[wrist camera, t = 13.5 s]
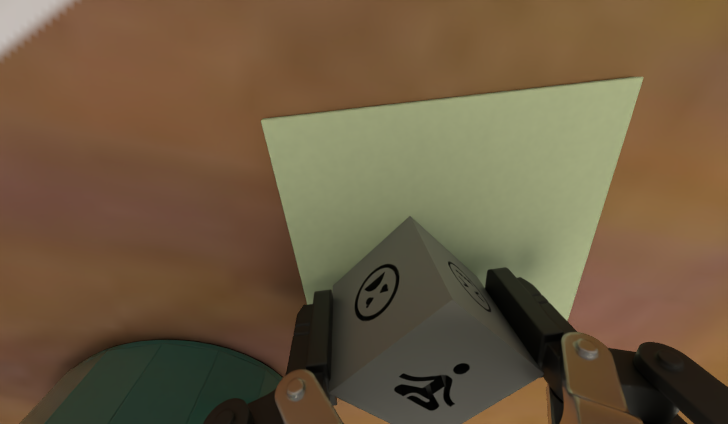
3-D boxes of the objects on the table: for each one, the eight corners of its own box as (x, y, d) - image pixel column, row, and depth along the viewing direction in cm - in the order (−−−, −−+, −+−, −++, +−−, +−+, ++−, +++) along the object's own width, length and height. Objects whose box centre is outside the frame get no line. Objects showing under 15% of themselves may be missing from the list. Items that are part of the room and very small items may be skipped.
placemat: (324, 366, 16) (324, 372, 16) (263, 118, 10) (260, 119, 10) (556, 335, 17) (561, 340, 16) (634, 76, 10) (644, 76, 10)
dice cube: (332, 285, 13) (328, 393, 9) (410, 215, 12) (452, 299, 7) (402, 332, 15) (429, 442, 10) (476, 276, 14) (544, 374, 9)
